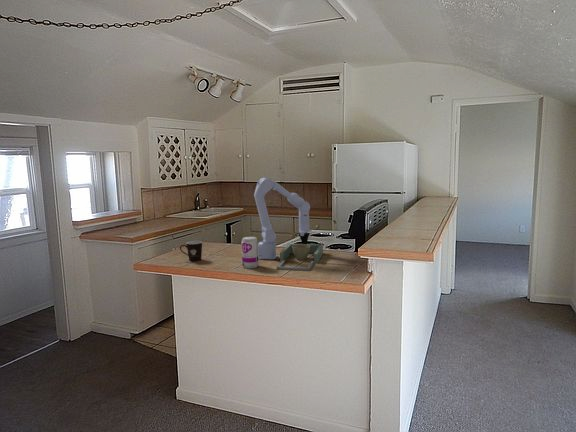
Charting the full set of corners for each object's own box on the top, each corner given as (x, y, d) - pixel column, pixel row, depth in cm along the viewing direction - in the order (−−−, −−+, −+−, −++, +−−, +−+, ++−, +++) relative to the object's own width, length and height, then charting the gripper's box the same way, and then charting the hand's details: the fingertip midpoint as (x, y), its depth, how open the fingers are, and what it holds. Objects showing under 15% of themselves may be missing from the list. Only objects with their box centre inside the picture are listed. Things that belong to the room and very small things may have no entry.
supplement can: (252, 269, 214) (251, 240, 211) (239, 267, 218) (238, 238, 216) (261, 265, 220) (260, 237, 218) (248, 263, 225) (247, 235, 222)
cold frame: (280, 262, 226) (279, 252, 226) (289, 252, 248) (288, 243, 247) (317, 263, 222) (316, 253, 221) (323, 253, 244) (322, 244, 243)
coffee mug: (206, 259, 237) (205, 241, 236) (196, 262, 229) (195, 244, 228) (189, 257, 242) (188, 240, 240) (179, 261, 234) (178, 243, 233)
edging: (276, 269, 212) (276, 267, 212) (283, 262, 226) (282, 260, 225) (309, 270, 209) (309, 268, 209) (313, 263, 222) (313, 261, 222)
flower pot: (309, 261, 227) (308, 248, 226) (290, 260, 229) (290, 247, 228) (311, 256, 236) (311, 244, 235) (294, 256, 238) (293, 243, 237)
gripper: (308, 224, 232) (309, 248, 234) (313, 220, 246) (313, 243, 248) (296, 224, 233) (296, 248, 235) (301, 220, 247) (301, 243, 249)
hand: (304, 245), depth 241 cm, fingers closed
